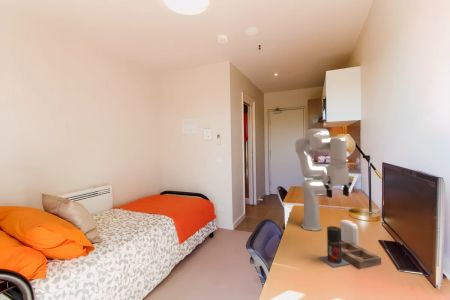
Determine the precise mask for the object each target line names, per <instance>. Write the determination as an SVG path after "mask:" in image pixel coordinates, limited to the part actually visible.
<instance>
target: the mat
mask: <svg viewBox="0 0 450 300" xmlns="http://www.w3.org/2000/svg"><path fill="white" fill-rule="evenodd" d="M319 259H320V260H321V261H323V262H325V263H326V264H327V265H329V266H330V267H332V268H333V269H334V268H339V267H344V266H349V265H350V264H351V263H350V262H348V261H347V260H345V259H344V258H342V262H341V263H338V264H336V263H332V262H330V261H328V255H323V256H320V257H319Z"/></svg>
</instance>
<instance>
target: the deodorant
mask: <svg viewBox="0 0 450 300" xmlns="http://www.w3.org/2000/svg"><path fill="white" fill-rule="evenodd" d="M326 230H327V231H326V233H327V235H326V236H327V237H326V238H327V239H326V240H327V241H326V242H327V248H326V249H327V251H326V252H327V256H328V261H330V262H332V263H336V264H338V263H341V262H342V259H343V258H342V251H341V243H342V240H341V228H340V227H339V226H336V225H335V226H333V225H329V226H327V228H326Z"/></svg>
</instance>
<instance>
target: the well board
mask: <svg viewBox="0 0 450 300" xmlns="http://www.w3.org/2000/svg"><path fill="white" fill-rule="evenodd" d="M347 249H348V250H347ZM341 251H342V259H343V260H345V261H346V262H348V263H349V264H352V265H353V266H355V267H356V268H358V269H365V268H369V267H370V268H371V267H374V266H381V265H382V257H381V256H379V255H376V254H374V253H373V252H370V251H369V250H367V249H365V248H363V247H361V246H360V245H359V246H357V245H355V244H354V243H352V242H350V241H348V242H343V241H341ZM359 257H360V258H359ZM361 257H362V258H364V259H361Z"/></svg>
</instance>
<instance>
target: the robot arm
mask: <svg viewBox="0 0 450 300" xmlns="http://www.w3.org/2000/svg"><path fill="white" fill-rule="evenodd" d="M294 147H295V152H296V155H297V157H298V158H299V163H300V169H301V175H302V177H303V178H306V179H305V180H303V181H302V183H301V189H302V190H301V191H302V194H303V195H302V197H303V218H301V221H302V222H303V223H301V228H302V227H303V229H305V230H306V231H311V230H312V232H313V231H314V232H317V231H322V229H323V226H322V225H321V224H320V200H319V199H318V197H317V196H316V195H326V198H330V199H332V198H333V187H335V186H336V187H337V186H343V187H342V195H343V196H346V197H349V195H350V193H349V192H350V189H351V186H352V185H353V181H354V178H352V177H350V174H349V173H350V171H349V167H348V164H347V163H348V161H349V160H348V158H347V157H348V140H347V138H345V137H339V136H331V135H330V131H329V130H328V129H327V128H310V129H307V130H306V131H305V132H304V137H301V138H298V139H296V141H295V144H294ZM308 151H316V152H329V164H328V166H326V165H325V164H322V163H314V159H313V156H312V155H311V154H310V152H308Z"/></svg>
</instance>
